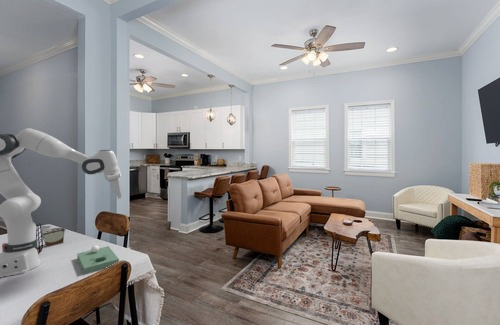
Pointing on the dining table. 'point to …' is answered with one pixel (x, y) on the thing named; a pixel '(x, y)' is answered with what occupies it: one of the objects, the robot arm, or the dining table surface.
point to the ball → (94, 248)
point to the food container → (53, 236)
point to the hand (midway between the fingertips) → (119, 196)
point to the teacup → (45, 229)
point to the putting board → (96, 259)
